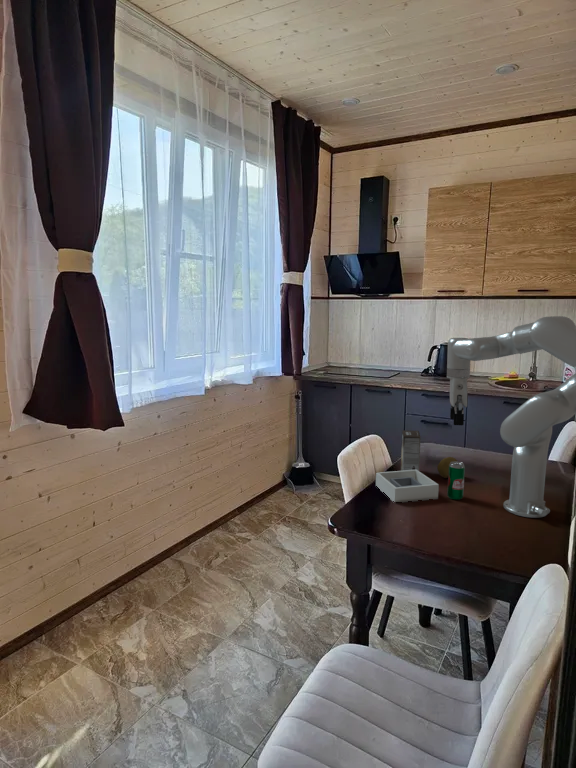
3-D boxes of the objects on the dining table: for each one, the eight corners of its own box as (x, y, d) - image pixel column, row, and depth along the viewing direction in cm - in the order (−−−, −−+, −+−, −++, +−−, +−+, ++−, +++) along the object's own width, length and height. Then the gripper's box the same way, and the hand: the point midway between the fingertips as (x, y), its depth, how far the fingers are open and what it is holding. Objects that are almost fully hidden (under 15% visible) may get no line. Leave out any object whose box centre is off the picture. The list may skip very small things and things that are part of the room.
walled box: (438, 498, 163) (438, 484, 162) (394, 503, 159) (395, 488, 158) (415, 482, 178) (416, 469, 177) (375, 486, 174) (376, 472, 173)
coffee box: (400, 469, 192) (401, 429, 189) (417, 470, 191) (418, 430, 188) (401, 477, 183) (403, 436, 180) (419, 478, 182) (421, 436, 179)
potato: (459, 475, 185) (460, 455, 183) (455, 482, 178) (457, 461, 177) (440, 473, 188) (441, 453, 187) (436, 479, 181) (437, 458, 180)
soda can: (452, 501, 161) (454, 466, 159) (444, 495, 166) (445, 461, 164) (466, 499, 162) (468, 464, 160) (457, 494, 167) (459, 460, 165)
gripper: (473, 376, 159) (471, 428, 162) (466, 370, 176) (464, 417, 179) (449, 376, 161) (448, 427, 163) (444, 370, 178) (443, 416, 180)
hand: (456, 421), depth 171 cm, fingers open, 9 cm apart
